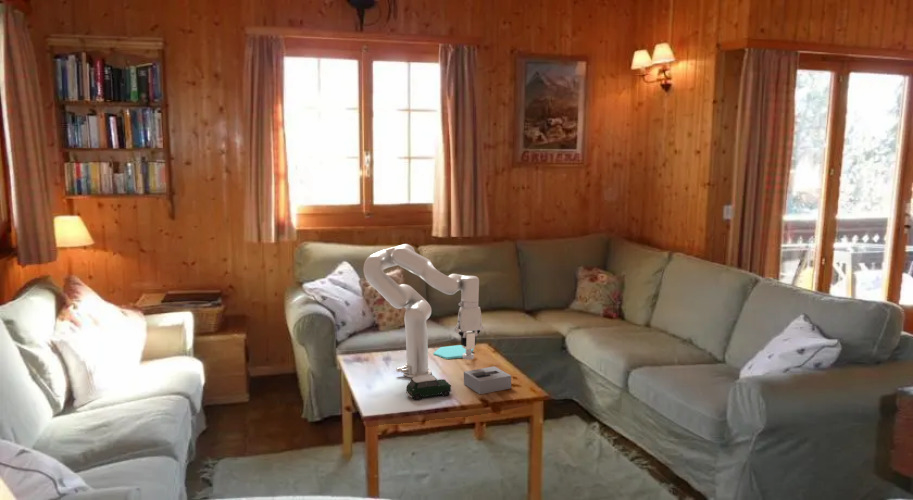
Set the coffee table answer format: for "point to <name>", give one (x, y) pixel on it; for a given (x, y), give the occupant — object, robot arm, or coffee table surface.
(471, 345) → the keyhole peg
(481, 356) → the coffee table surface
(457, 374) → the coffee table surface
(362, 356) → the coffee table surface
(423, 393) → the miniature car
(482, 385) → the keyhole board
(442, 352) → the plaque
